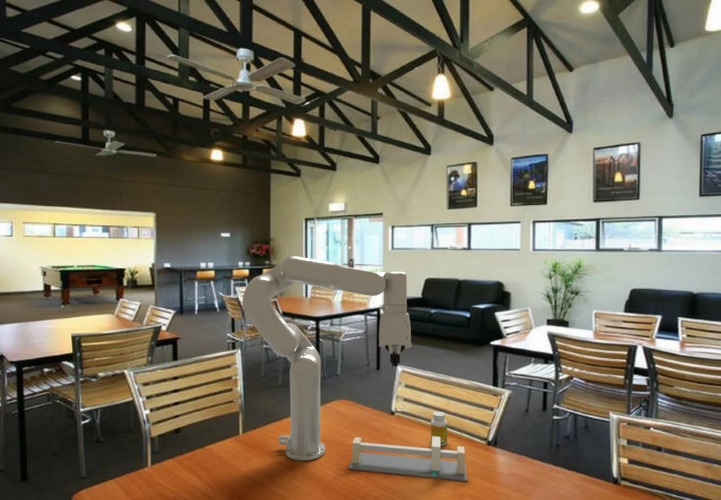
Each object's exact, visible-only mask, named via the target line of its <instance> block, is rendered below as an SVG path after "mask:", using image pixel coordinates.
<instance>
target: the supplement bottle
mask: <svg viewBox="0 0 721 500" xmlns="http://www.w3.org/2000/svg"><path fill="white" fill-rule="evenodd" d="M432 436H435V437H440V447H442V446H446V445H447V444H448V421H447V420H446V414H445V412H444V411H434V412H433V413H432V419H431V420H430V442H431V443H432Z"/></svg>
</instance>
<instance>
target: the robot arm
mask: <svg viewBox="0 0 721 500" xmlns="http://www.w3.org/2000/svg"><path fill="white" fill-rule="evenodd" d="M407 277H408V276H407V273H405V272H404V271H397V270H396V271H387V272H385V271H377V270H366V269H365V270H364V269H359V268H353V267H349V266H344V265H342V264H339V263H337V262H332V261H327V260H320V259H314V258H311V257H310V258H309V257H303V256H299V255H289V256H287V257H285V258H284V259H283V260H282V261H281V262H280V263H278V264H277V265H275V266H273V267H272V268H270V269H269V270H268V271H267V270H266V272H264V273H261V274H260V275H257V276H255V277H253V278H251V280H250V281H249V283H248V284H247V286H246V288H245V290H244V292H243V296H242V308H243V311H244V313H245V316H246V317H247V319H248V321H250V323H251V324H252V325H253V327H254V328H255V329H256V331H258V333H259V334H260V336H261V337H262V338H263V340H264V341H265V342H266V343H267V344H268V346H269V347H270V348H271V350H272V351H273V352H274V354H276V355H277V356H280V357H282V358H286V359H287V361H289V363H290V367H289V389H290V390H289V391H290V393H289V394H290V398H289V399H290V404H289V405H290V435H279V437H278V442H279V445H281V446H284V445H286V447H285V455H286V457H288V458H289V459H291V460H294V461H300V462H301V461H305V462H306V461H312V460H315V459H319V458H320V457H322V456H323V455H324V454H325V453H326V445H325V444H324V443H323V442H322V441H321V376H322V375H321V374H322V373H321V369H322V367H321V365H322V364H321V363H322V361H321V356H320V354H319V352H318V350H317V349H316V347H315V346H314V345H313V343H312V342H311V341H310V340H309V339H308V338H307V337H306V335H305V334H304V332H303V331H302V330H301V329H300V328H299V327H298V326H297V325H296V324H294V323H292V322H286V320H285V319H284V318H283V317H282V315H281V314H280V312H278V310H277V309H276V308H275V307H274V306H273V304H272V299H273V298H274V297H275V296H277V295H278V294H280V293H281V292H283V291H284V290H286V289H288V288H289V287H291V286H292V285H294V284H300V285H301V284H302V285H308V286H314V287H318V288H322V289H323V288H324V289H330V290H334V291H335V290H336V291H342V292H348V293H352V294H358V295H364V296H370V297H371V296H372V297H374V296H375V297H376V296H379V295H381V294H383V304H382V305H381V304H380V305H379V309H378V310H381V311H382V312H381V314H380V318H379V327H378V328H379V329H378V330H379V332H378V341H379V343H378V347H381V348H384V349H386V350H387V352H389V354H390V358H389V359H390V364H391V365H392V366H391V367H398V365H399V364H400V363H401V353H402V352H403V351H404V350H406V349H411V348H412V341H411V340H412V331H411V329H412V328H411V320H410V313H409V312H407V311H408V309H407V308H408V304H407V302H408V301H407V299H408V297H407V296H408V295H407V292H408V289H407V286H408V283H407V282H408V281H407V280H408V278H407ZM394 346H396V351H395V348H394Z"/></svg>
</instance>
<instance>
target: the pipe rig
mask: <svg viewBox="0 0 721 500" xmlns="http://www.w3.org/2000/svg"><path fill="white" fill-rule="evenodd" d="M351 445H352V446H351V447H352V449H351V450H352V451H351V453H352V454H351V455H352V458H351V461H350V464H349V466H348V470H352V471H362V472H370V473H371V472H372V473H379V474H389V475H391V474H392V475H401V476H410V477H418V478H430V479H437V480H438V479H440V480H441V479H442V480H449V481H458V482H468V474H467V472H468V471H467V464H466V451H465V446H459V445H458V446H457V445H456V446H457V447H456V450H448V449H440V471H435V470H432V448H428V447H416V446H407V445H405V446H404V445H395V444H394V445H393V444H382V443H374V442H373V443H370V442H362V437H358V436H357V437H356V436H355V437H354V439H353V441H352V444H351ZM362 451H367V452H362ZM371 452H372V453H371ZM373 452H375V453H373ZM376 452H377V453H376ZM381 453H387V454H381ZM391 454H397V455H391ZM403 455H410V456H403ZM412 456H421V457H412ZM423 457H424V458H423ZM426 457H429V458H426ZM441 458H442V459H441ZM444 459H445V460H444ZM446 459H452V460H446ZM453 459H454V460H453Z"/></svg>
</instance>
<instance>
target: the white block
mask: <svg viewBox="0 0 721 500" xmlns="http://www.w3.org/2000/svg"><path fill="white" fill-rule="evenodd" d="M431 449H432V457H431V459H432V470H435V471H440V460H441V458H440V450H441V446H440V437H435V436H432V442H431Z"/></svg>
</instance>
